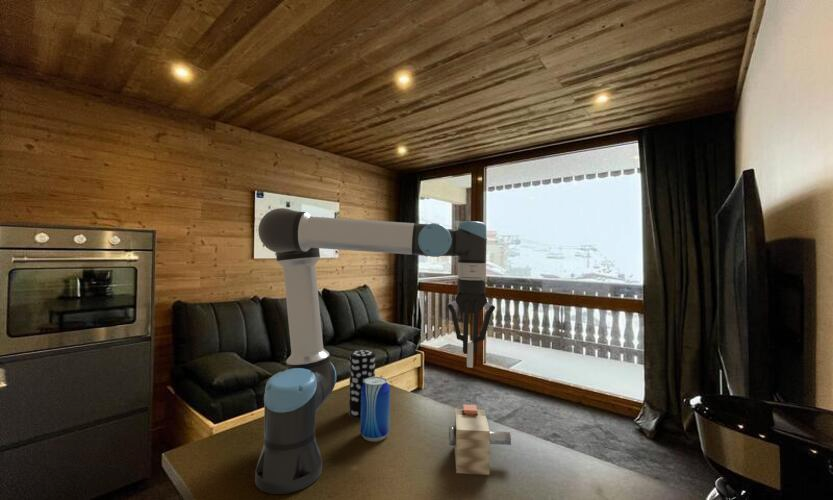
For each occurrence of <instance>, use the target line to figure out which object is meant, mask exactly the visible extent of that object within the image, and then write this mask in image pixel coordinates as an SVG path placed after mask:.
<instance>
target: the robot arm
mask: <svg viewBox="0 0 833 500" xmlns="http://www.w3.org/2000/svg"><path fill="white" fill-rule="evenodd" d="M257 231H258V237H259V240H260V242H261V243H262V245H263V246H264V247H265V248H267V249H268V250H270V252H274V253H275V255H276V257H275V258H276V263H277V264H278V265H280V266H281V267H282V268H283V279H284V288H285V290H284V291H285V299H286V310H287V320H288V321H287V322H288V332H289V341H290V350H291V352H290V356H288V358H287V359H286V360H285V361H286V362H285V363H286V369H285V370H284V371H279V372H277V373H275V374H273V375H272V376H271V377H270V378H269V379H268V380H267V382H266V383H265V390H264V395H263V403H264V404H263V405H264V406H263V407H264V412H263V416H264V417H263V419H264V420H263V423H264V424H263V446H262V450H261V452H260V455H259V458H258V461H257V464H256V468H255V472H254V483H255V484H254V485H256V487H257V488H258V489H259V490H260V491H261V492H263V493H267V494H271V495H287V494H291V493H296V492H299V491H301V490H303V489H306V488H307V487H309V486H311V485H312V484H313V483H315V482H316V481H317V480H318V479H319V478H320V476H321V474H322V471H323V459H322V455H321V454H322V453H321V451H320V449H319V445H318V442H317V439H316V418H317V417H316V416H317V415H316V414H317V411H318V410H319V409H320V408H321V406H322V405H323V404H324V403H325V401H326V400H327V399H328V398H329V397H330V395H331V394H332V393H333V391H334V389H335V386H336V383H337V370H336V368H335V366H334V364H333V363H332V362H331V357H330V352H329V351H328V350H326V349H325V348H324V342H323V341H324V340H323V331H322V322H321V321H322V320H321V310H320V301H319V290H318V279H317V271H316V270H317V269H316V268H317V267H316V264H317V262H318V261H319V260H320V259H321V255H320V253H321V252H320V249H324V250H325V249H327V250H340V251H354V252H369V253H371V252H372V253H381V254H382V253H383V254H384V253H386V254H396V255H397V254H400V255H413V256H424V257H432V258H433V257H434V258H439V257H457V277H458V278H459V279H457V285H456V286H457V289H456V291H457V293H456V294H457V295H456V297H455V299H454V300H453V301H452V302H448V303H447V308H448V311H450V313H451V317H452V322H453V326H454V331H455V336H456V339H457V340H458V341H461V342H462V353H463V355H466V367H467V368H472V369H473V367H474V355H477V354H478V343H479V342H481V341H484V340H485V338H486V335H487V332H488V328H489V323H490V320H491V317H492V316H491V315H492V314H493V312H494V311H495V309H496V306H495V305H494V304H492V303H490V302H489V301H488V298H487V296H486V284H487V282H486V280H485V278H486V277H487V276H486V275H487V274H486V271H487V267H486V263H487V243H488V241H487V240H488V239H487V225H486V223H484V222H483V221H474V220H473V221H472V220H471V221H468V220H467V221H461V222H459V224H458V227H457V228H447V227H446V226H445V225H443V224H441V223H438V222H437V223H435V222H434V223H414V222H402V221H401V222H399V221H398V222H397V221H387V220H385V221H384V220H383V221H382V220H371V219H370V220H366V219H354V218H353V219H352V218H336V217H323V216H321V217H320V216H313V215H312V214H311V213H310V212H308V211H307V212H306V211H299V210H298V211H297V210H293V209H290V208H285V207H281V208H280V207H279V208H273V209H271V210H270V211H268V212H267V213H265V214H264V215H263V216H262V218H261V220H260V222H259V224H258V230H257ZM457 306H458V307H459V309H460V310H461V311H462V312H463V314H462V315H463V320H462V321H463V323H462V334H461V330H460V326H459V321H458V316H457V312H456V310H457ZM483 308H485V310H486V311H485V313H484V316H483V320H482V324H481V327H480V331H479V313H480V312H481V311H482V310H483ZM470 314H472V335H471V336H472V340H469V315H470Z"/></svg>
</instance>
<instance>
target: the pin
mask: <svg viewBox="0 0 833 500" xmlns="http://www.w3.org/2000/svg"><path fill="white" fill-rule="evenodd" d="M511 436H512V435H511V431H501V430H500V431H498V430H490V445H505V446H511V443H512V438H511ZM455 444H456V429H455V425H449V426H448V446H449V447H450V446H452V447H454V446H455Z"/></svg>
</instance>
